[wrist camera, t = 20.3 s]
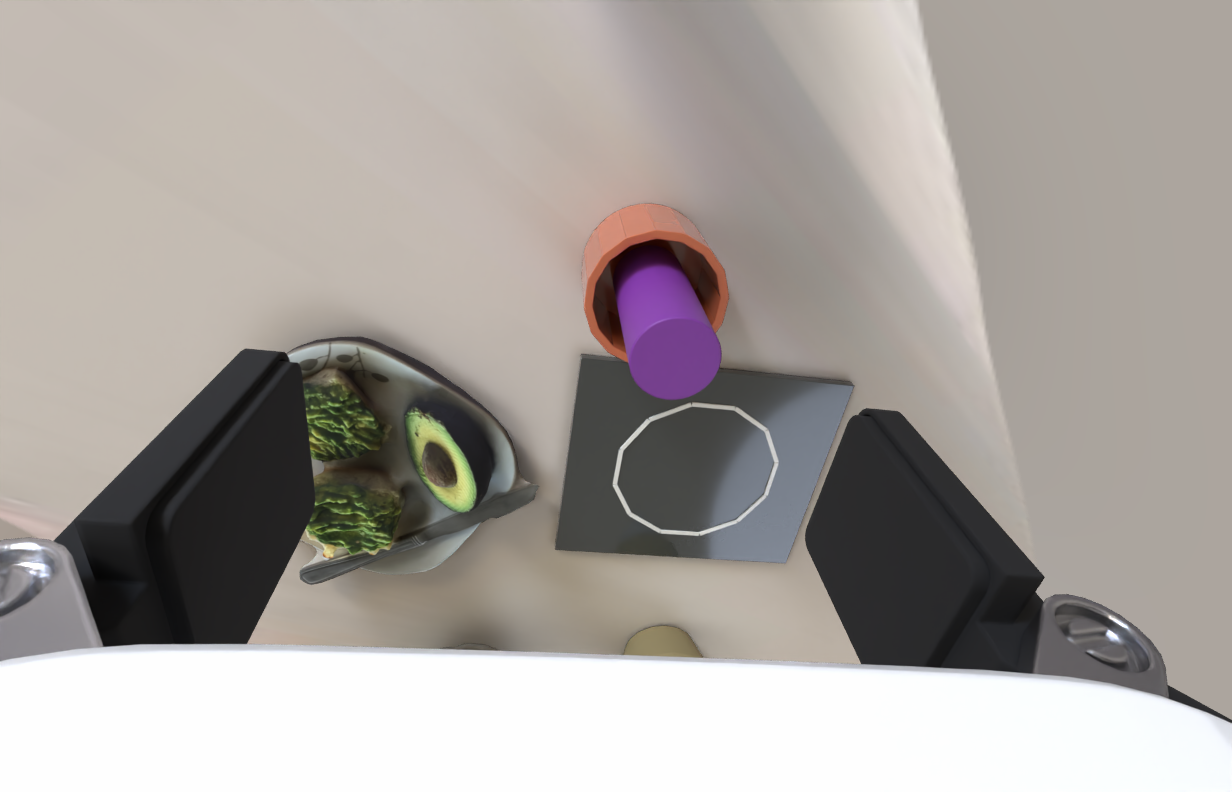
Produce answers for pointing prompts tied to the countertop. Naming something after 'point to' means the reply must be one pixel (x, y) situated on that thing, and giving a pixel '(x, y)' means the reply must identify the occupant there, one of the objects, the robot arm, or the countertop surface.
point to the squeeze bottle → (662, 643)
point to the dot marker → (664, 325)
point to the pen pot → (635, 231)
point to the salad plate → (397, 461)
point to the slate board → (694, 463)
